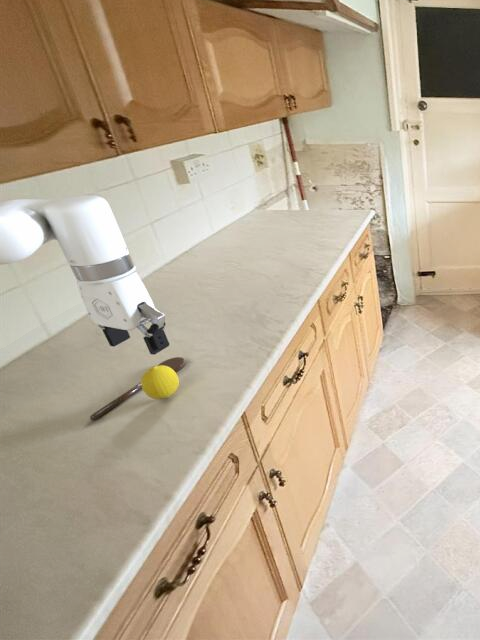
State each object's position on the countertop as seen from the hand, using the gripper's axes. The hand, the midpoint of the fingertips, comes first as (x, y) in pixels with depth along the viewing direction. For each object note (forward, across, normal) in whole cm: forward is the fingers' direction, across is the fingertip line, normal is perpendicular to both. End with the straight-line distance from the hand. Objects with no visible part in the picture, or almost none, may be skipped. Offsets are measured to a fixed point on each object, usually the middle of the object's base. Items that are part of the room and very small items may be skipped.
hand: (140, 346), depth 77 cm
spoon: (+13, -8, +2) cm, 15 cm away
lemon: (+13, +1, 0) cm, 13 cm away
